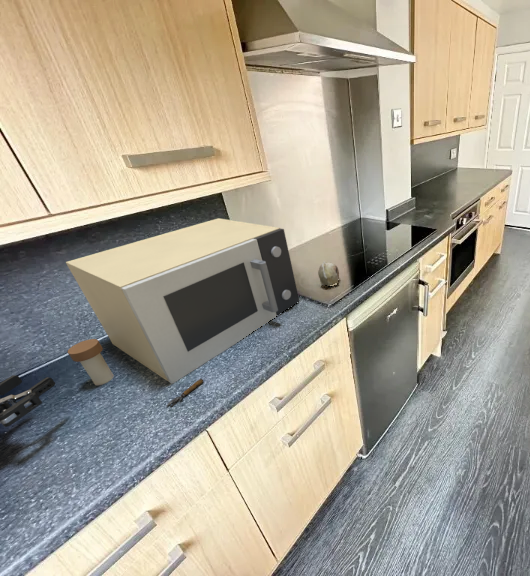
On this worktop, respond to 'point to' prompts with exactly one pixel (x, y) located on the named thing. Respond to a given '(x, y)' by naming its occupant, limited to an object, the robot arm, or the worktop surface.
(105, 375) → the mushroom
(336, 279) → the garlic bulb
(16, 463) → the worktop surface
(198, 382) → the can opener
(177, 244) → the microwave
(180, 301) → the microwave door
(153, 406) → the worktop surface
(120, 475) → the worktop surface
